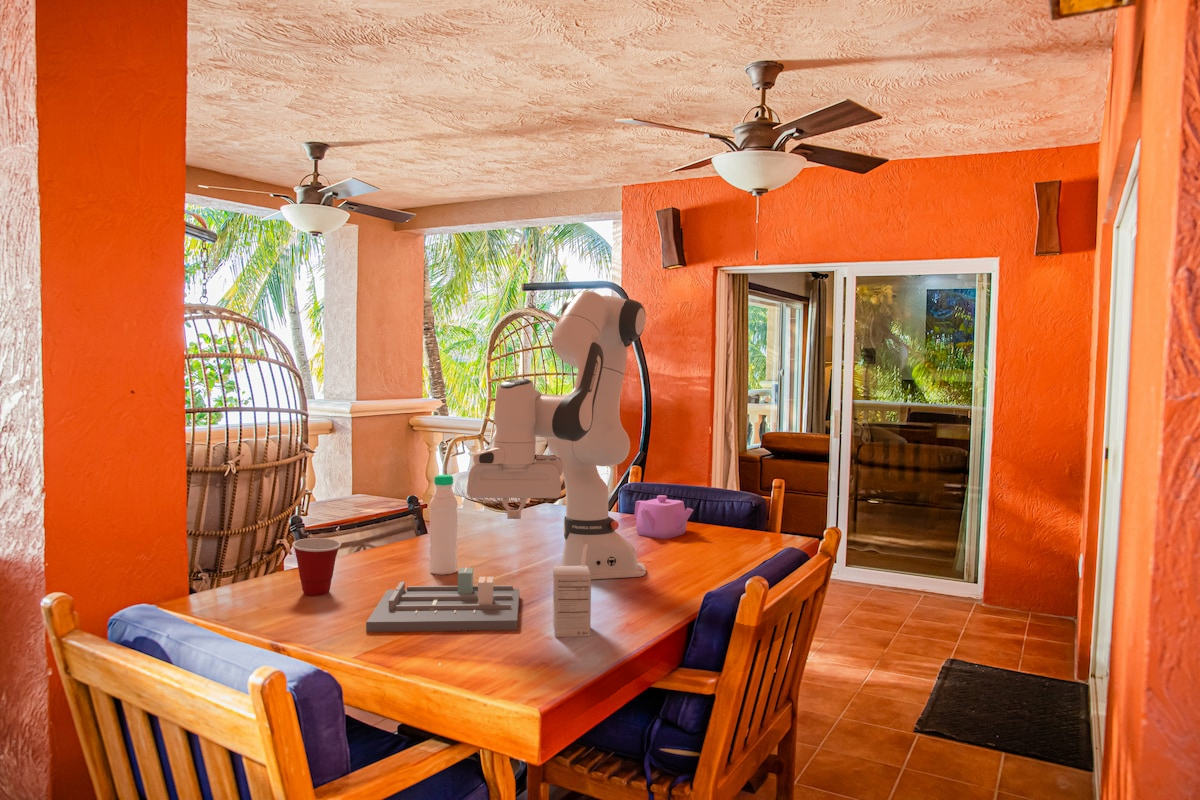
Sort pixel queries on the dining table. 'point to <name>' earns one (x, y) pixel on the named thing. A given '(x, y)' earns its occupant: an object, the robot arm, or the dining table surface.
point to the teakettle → (661, 517)
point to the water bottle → (443, 527)
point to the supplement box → (571, 601)
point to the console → (444, 610)
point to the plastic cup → (316, 564)
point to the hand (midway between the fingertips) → (514, 518)
